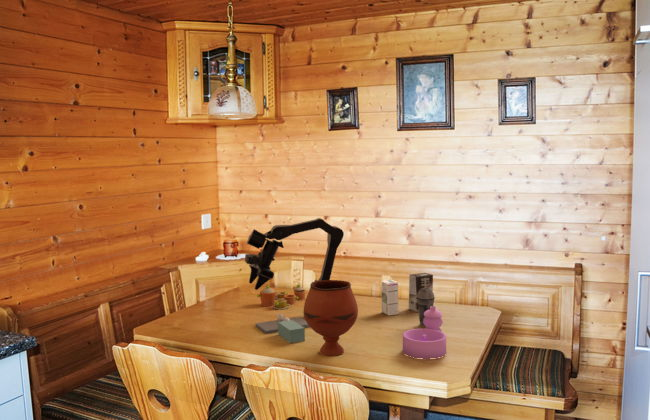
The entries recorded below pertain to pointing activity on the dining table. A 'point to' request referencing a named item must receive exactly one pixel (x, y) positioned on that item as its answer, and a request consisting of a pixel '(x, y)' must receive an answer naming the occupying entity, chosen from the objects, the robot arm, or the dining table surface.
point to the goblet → (330, 312)
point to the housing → (291, 331)
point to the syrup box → (390, 297)
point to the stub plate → (273, 325)
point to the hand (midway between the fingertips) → (252, 286)
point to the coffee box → (418, 287)
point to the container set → (426, 337)
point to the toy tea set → (280, 297)
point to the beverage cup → (424, 302)
